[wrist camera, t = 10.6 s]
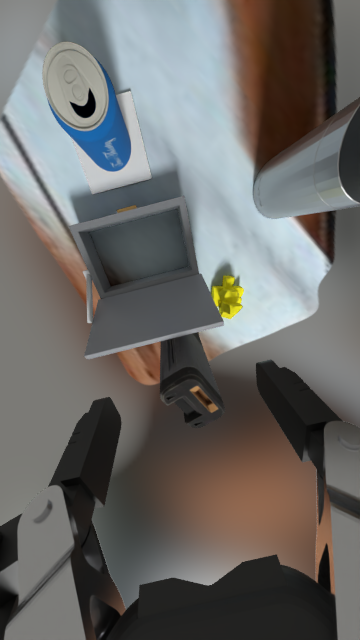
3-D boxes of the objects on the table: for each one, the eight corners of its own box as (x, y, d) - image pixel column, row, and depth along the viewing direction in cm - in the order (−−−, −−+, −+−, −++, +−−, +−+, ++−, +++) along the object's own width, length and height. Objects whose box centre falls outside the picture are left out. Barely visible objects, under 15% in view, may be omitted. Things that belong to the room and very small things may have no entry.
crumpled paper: (240, 275, 38) (258, 284, 31) (235, 311, 41) (250, 327, 34) (212, 275, 38) (224, 284, 31) (209, 311, 41) (219, 327, 34)
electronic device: (157, 325, 41) (154, 396, 23) (179, 310, 40) (194, 372, 22) (181, 352, 45) (194, 433, 27) (202, 339, 44) (230, 414, 25)
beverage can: (105, 181, 29) (71, 150, 18) (77, 132, 27) (19, 61, 16) (140, 159, 29) (126, 112, 18) (115, 106, 26) (81, 13, 15)
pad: (131, 92, 26) (130, 90, 25) (152, 178, 30) (151, 178, 30) (62, 111, 26) (61, 110, 26) (93, 194, 30) (92, 194, 30)
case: (182, 196, 31) (199, 161, 17) (200, 291, 39) (224, 326, 24) (73, 225, 32) (-4, 215, 17) (112, 314, 39) (81, 362, 24)
